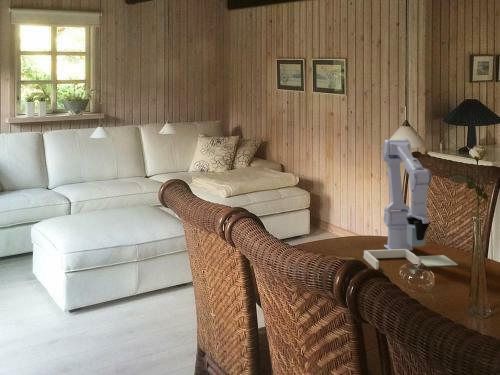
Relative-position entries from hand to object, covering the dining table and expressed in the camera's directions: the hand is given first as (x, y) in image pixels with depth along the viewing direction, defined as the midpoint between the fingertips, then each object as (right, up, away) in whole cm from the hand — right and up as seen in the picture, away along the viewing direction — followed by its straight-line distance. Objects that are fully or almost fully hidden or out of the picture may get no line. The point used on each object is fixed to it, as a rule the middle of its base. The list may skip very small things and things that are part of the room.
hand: (417, 238), depth 225 cm
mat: (+8, -9, +3) cm, 12 cm away
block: (0, -2, 0) cm, 2 cm away
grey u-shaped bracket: (-9, -9, +1) cm, 13 cm away
